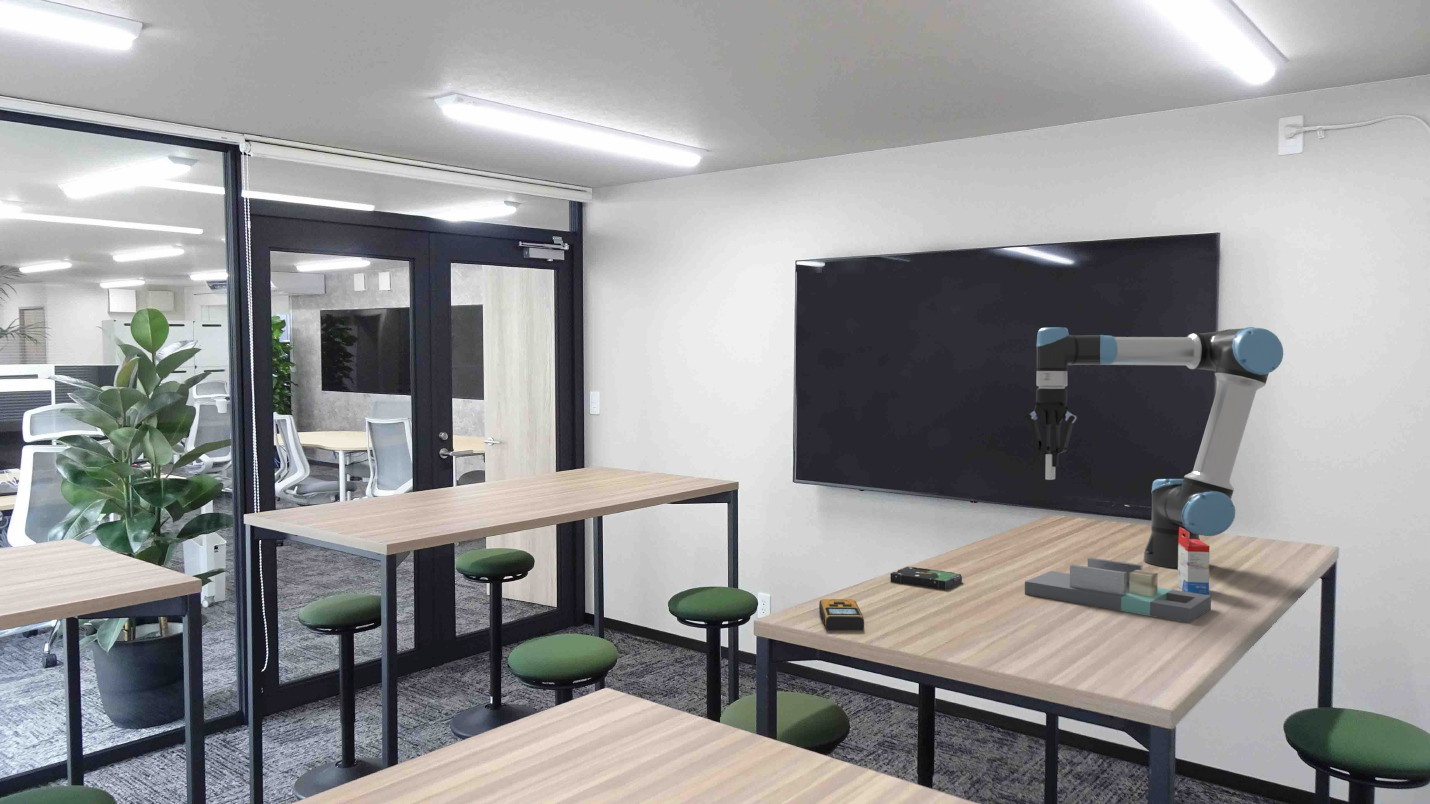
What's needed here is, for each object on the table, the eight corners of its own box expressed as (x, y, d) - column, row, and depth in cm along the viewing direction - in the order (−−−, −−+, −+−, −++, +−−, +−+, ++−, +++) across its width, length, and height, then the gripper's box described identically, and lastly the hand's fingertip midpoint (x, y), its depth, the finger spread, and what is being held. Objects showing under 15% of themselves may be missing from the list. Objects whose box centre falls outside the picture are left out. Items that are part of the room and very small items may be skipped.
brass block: (1136, 589, 210) (1136, 569, 210) (1157, 592, 207) (1157, 572, 207) (1129, 593, 207) (1129, 572, 207) (1150, 596, 204) (1150, 576, 204)
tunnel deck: (1051, 582, 229) (1051, 550, 229) (1210, 609, 205) (1211, 573, 205) (1024, 593, 218) (1025, 560, 218) (1190, 622, 194) (1190, 584, 194)
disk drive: (889, 584, 231) (946, 592, 222) (889, 573, 231) (946, 580, 222) (907, 576, 239) (962, 583, 231) (906, 565, 239) (962, 572, 230)
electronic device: (856, 613, 204) (856, 597, 204) (865, 632, 188) (866, 616, 188) (817, 612, 204) (818, 597, 204) (824, 631, 189) (824, 615, 189)
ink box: (1209, 595, 217) (1211, 533, 216) (1186, 594, 218) (1188, 532, 217) (1198, 587, 225) (1199, 526, 225) (1176, 586, 226) (1177, 526, 226)
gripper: (1020, 387, 240) (1019, 478, 241) (1071, 388, 231) (1069, 482, 232) (1033, 387, 246) (1032, 475, 247) (1082, 387, 237) (1081, 480, 238)
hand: (1050, 479), depth 239 cm, fingers closed
